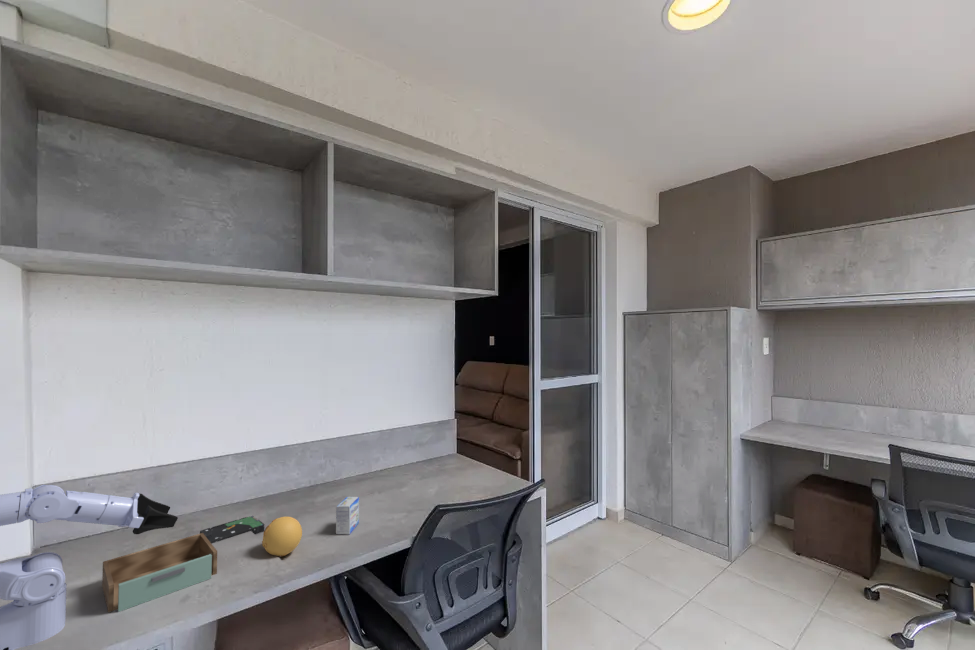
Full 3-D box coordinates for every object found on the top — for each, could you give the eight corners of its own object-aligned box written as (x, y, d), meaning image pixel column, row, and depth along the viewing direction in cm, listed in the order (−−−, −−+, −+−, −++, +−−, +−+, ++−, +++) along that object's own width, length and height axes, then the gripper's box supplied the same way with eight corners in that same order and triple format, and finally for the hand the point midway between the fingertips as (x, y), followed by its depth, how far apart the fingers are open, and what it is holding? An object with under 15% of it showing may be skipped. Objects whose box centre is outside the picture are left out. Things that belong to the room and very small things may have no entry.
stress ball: (304, 556, 116) (307, 521, 123) (294, 541, 109) (298, 505, 117) (266, 566, 114) (272, 530, 121) (253, 551, 107) (260, 514, 115)
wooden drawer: (108, 619, 88) (109, 586, 89) (101, 591, 98) (102, 561, 98) (216, 579, 103) (217, 551, 103) (202, 558, 113) (202, 532, 113)
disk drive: (210, 551, 117) (265, 532, 129) (210, 541, 118) (265, 523, 129) (198, 540, 124) (252, 522, 135) (198, 530, 124) (252, 514, 136)
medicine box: (349, 535, 126) (350, 506, 127) (335, 534, 127) (335, 506, 127) (359, 523, 134) (359, 496, 135) (345, 523, 134) (346, 496, 135)
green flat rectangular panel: (118, 613, 88) (119, 586, 88) (117, 609, 89) (118, 583, 89) (211, 579, 101) (212, 556, 101) (210, 576, 102) (210, 553, 102)
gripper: (116, 499, 86) (188, 508, 95) (108, 481, 95) (173, 490, 105) (96, 535, 84) (171, 541, 93) (89, 513, 93) (158, 519, 102)
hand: (171, 516), depth 98 cm, fingers open, 7 cm apart
